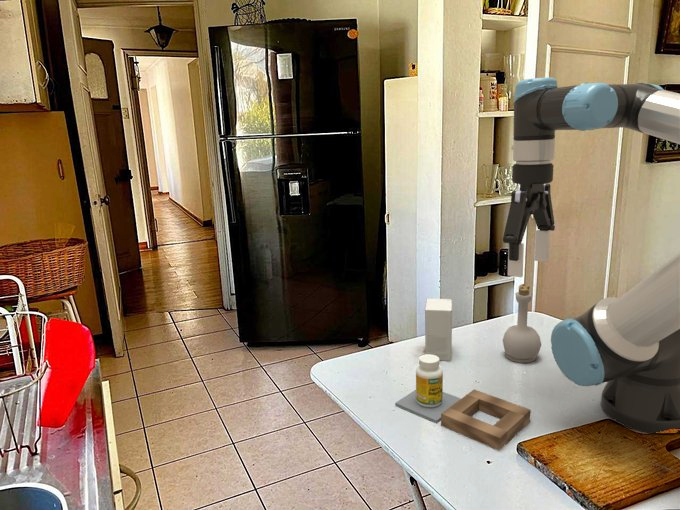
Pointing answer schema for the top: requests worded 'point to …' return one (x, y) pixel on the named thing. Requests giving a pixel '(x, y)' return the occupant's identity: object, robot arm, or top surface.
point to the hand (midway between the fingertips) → (528, 268)
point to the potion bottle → (522, 332)
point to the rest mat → (427, 412)
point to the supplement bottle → (429, 381)
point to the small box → (438, 328)
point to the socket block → (488, 434)
